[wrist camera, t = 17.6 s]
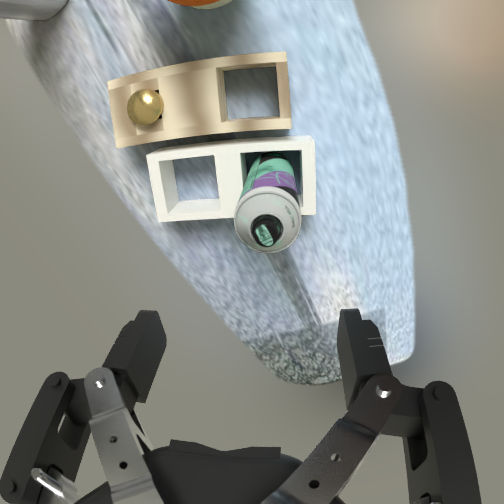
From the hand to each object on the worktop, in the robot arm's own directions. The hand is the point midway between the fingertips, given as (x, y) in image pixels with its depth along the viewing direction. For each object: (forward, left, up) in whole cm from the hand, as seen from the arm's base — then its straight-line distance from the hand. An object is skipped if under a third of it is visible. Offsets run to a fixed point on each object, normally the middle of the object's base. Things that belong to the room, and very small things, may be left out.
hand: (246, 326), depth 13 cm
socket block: (-8, +10, -30) cm, 32 cm away
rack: (-4, -1, -30) cm, 30 cm away
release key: (-13, +10, -30) cm, 34 cm away
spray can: (0, -1, -30) cm, 30 cm away
